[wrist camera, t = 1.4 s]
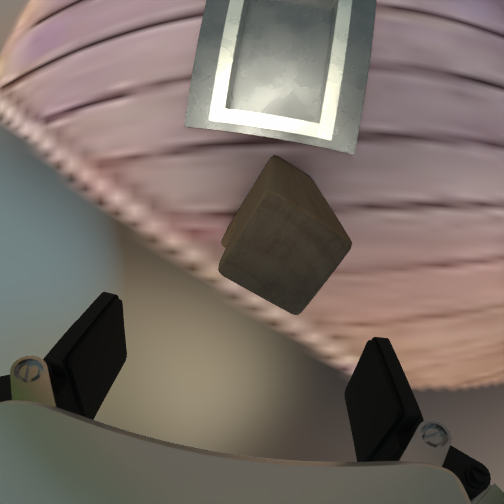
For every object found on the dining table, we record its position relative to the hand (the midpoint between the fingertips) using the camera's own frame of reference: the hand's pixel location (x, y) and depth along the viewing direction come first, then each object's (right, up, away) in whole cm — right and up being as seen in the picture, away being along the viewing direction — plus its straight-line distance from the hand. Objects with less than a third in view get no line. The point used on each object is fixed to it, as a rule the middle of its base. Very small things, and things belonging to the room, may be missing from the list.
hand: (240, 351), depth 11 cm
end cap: (+3, +22, +14) cm, 26 cm away
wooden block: (+2, +8, +20) cm, 22 cm away
